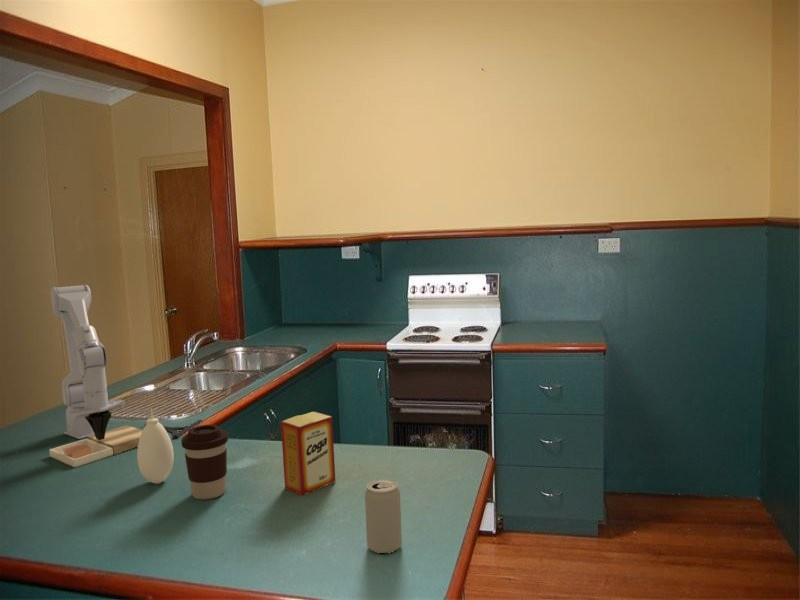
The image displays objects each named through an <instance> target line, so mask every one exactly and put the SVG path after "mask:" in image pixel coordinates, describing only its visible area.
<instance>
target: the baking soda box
mask: <svg viewBox="0 0 800 600" xmlns="http://www.w3.org/2000/svg"><path fill="white" fill-rule="evenodd" d="M280 431H281V445H282V446H281V447H282V459H283V461H282V463H283V477H284V489H286V488H288V489H290V490H289V491H291V490H292V491H291V492H293V491H294V493H295V492H297V493H296V494H298V493H299V494H298V495H300V494H301V495H300V496H302V495H303V496H305V495H304V494H306V493H308V492H311V491H313V490H315V491H317V490H316V489H318V488H320V487H322V486H324V485H326V484H329V483H331V482H334V481H335V482H336V471H335V470H336V467H335V449H334V448H335V447H334V428H333V416H331V415H329V414H324V413H320V412H318V411H311V412H308V413H305V414H301V415H299V414H298V415H295V416H293V417H290V418H286V419H284V420H282V421H280ZM335 482H334V483H335ZM329 485H330V484H329ZM322 488H323V487H322ZM288 489H287V490H288ZM320 489H321V488H320ZM318 490H319V489H318ZM313 492H314V491H313ZM311 493H312V492H311ZM308 494H309V493H308ZM306 495H307V494H306Z"/></svg>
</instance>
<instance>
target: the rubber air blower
mask: <svg viewBox="0 0 800 600" xmlns="http://www.w3.org/2000/svg"><path fill="white" fill-rule="evenodd" d="M145 423H146V426H145V425H144V426H145V427H144V426H143V429H142V430H143V431H142V433H141V436H140V439H139V443H138V447H137V448H136V449H137V451H136V457H137V459H136V460H137V465H138V468H139V471H140V473H141V475H142V477H143V478H144V479H145V480H146V481H149V482H150V483H153V484H156V485H157V484H161V483H162V482H165V480H166V478H168V477H169V476H170V475H171V472H172V470H173V467H174V462H175V461H174V459H175V458H174V457H175V456H174V455H175V454H174V453H175V452H174V448H173V447H174V446H173V443H172V440H171V438H170V436H169V434H168V431H166V430H165V428H164V427H163V426H164V425H163V424H162V423H161V422H160V420H159V419H158V418H157V417H154V411H153V408H151V409H150V418H149V419H147V420H146V422H145Z"/></svg>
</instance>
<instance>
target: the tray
mask: <svg viewBox="0 0 800 600" xmlns="http://www.w3.org/2000/svg"><path fill="white" fill-rule="evenodd" d="M81 443H83V444H85V445H88V446H90V447H91V451H92V454H89V455H86V456H83V457H80V458H77V459H74V458H72V457H69V456H67V455H65V454H64V452H63V449H64V448H68V447H71V446H74V445H78V444H81ZM48 451H49V457H50V458H53V459H54V460H56V461H59V462H61V463H64V464H66V465H67V466H69V467H72V468H74V469H75V468H77V467H81V466H85V465H88V464H91V463H93V462H94V463H95V462H97V461H99V460H103V459H106V458H109V457H112V456H114V455H113V448H111V447H109V446H106V445H103V444H101V443H98V442H95V441H93V440H90V439H88V438H83V439H79V440H77V441H75V442H71V443H67V444H63V445H60V446H57V447H53V448H49V450H48Z"/></svg>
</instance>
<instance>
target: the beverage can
mask: <svg viewBox="0 0 800 600" xmlns="http://www.w3.org/2000/svg"><path fill="white" fill-rule="evenodd" d="M398 486H399V484H398V482H396V481H394V480H391V479H387V478H385V479H384V478H381V479H375V480H372V481H370V482H369V483H367V484H366V490H365V491H364V501H365V504H364V505H365V521H366V522H365V524H366V525H365V526H366V527H365V528H366V529H365V530H366V546H367V548H368V549H369V550H371V552H373V551H374V552H373V553H375V552H378V553H389V552H392V551H395V550H396V551H397V550H399V548H400V547H401V546H402V543H403V540H402V539H403V538H402V511H401V507H402V506H401V490H400V488H399V487H398ZM396 551H395V552H396ZM378 553H377V554H378ZM392 553H393V552H392ZM389 554H390V553H389Z"/></svg>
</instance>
